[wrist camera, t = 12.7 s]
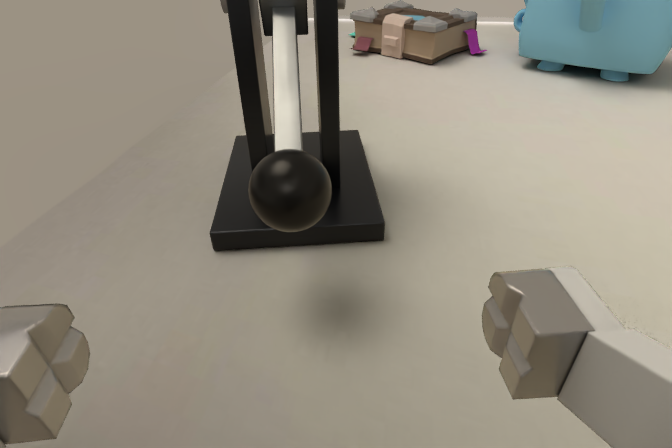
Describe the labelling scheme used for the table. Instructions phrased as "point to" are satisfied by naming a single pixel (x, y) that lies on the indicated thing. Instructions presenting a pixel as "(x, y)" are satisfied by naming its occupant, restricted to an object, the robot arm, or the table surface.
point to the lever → (288, 133)
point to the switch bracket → (326, 145)
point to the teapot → (596, 35)
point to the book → (415, 32)
